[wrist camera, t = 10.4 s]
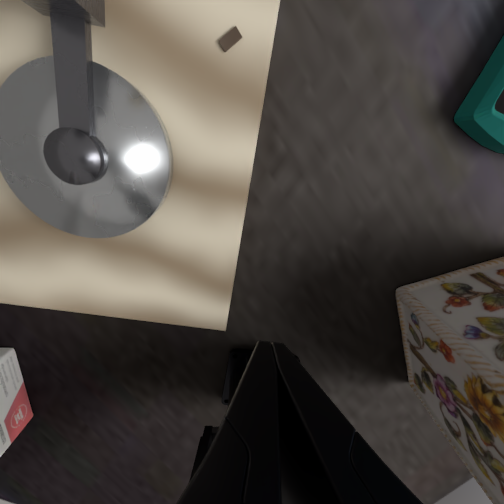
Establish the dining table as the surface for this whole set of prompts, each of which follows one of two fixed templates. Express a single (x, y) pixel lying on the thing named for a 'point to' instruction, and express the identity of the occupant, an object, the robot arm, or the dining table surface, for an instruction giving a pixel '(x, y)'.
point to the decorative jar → (461, 362)
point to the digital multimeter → (486, 105)
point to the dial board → (184, 161)
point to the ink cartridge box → (12, 399)
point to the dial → (81, 134)
